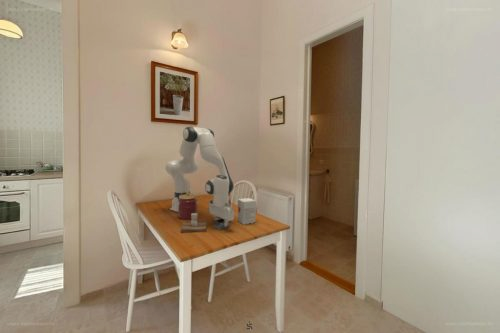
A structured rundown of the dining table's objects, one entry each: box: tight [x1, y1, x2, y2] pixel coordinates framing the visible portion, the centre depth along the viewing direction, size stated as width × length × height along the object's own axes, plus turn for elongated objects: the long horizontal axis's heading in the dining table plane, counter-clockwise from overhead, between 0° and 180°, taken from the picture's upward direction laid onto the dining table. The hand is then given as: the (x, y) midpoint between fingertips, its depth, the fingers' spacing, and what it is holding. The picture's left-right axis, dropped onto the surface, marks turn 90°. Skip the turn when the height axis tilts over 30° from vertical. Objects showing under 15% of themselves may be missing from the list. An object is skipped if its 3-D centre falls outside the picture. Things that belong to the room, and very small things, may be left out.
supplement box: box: [237, 197, 257, 226], centre depth 144 cm, size 9×9×15 cm
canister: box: [177, 192, 198, 220], centre depth 152 cm, size 13×13×18 cm
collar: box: [213, 219, 230, 231], centre depth 133 cm, size 6×6×4 cm
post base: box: [180, 212, 207, 234], centre depth 131 cm, size 14×14×8 cm
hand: (221, 224), depth 133 cm, fingers closed on collar, 6 cm apart
